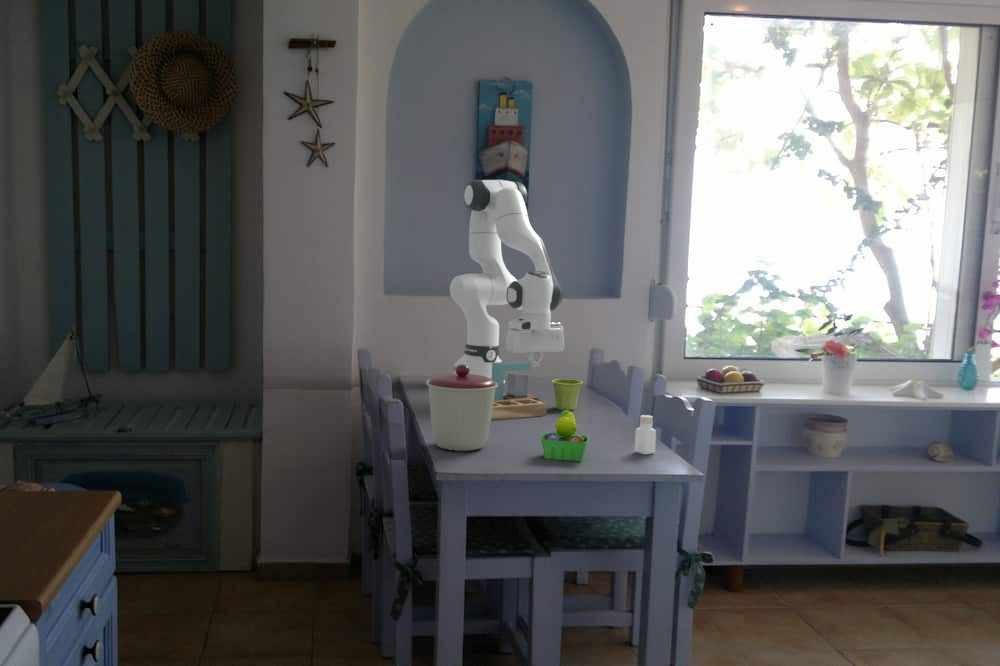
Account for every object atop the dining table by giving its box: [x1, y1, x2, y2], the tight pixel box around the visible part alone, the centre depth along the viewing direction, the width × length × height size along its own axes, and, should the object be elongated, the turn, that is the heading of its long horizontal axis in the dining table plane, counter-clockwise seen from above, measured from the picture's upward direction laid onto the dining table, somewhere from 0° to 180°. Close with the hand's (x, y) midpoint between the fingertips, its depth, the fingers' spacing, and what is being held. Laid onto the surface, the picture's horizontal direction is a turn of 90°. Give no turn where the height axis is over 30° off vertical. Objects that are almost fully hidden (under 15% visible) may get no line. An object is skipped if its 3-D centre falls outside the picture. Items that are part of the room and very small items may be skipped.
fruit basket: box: [540, 409, 590, 462], centre depth 241 cm, size 11×9×11 cm
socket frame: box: [503, 392, 540, 402], centre depth 304 cm, size 27×10×3 cm, turn 121°
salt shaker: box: [634, 414, 657, 455], centre depth 249 cm, size 4×4×10 cm
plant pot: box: [551, 378, 583, 411], centre depth 305 cm, size 9×9×9 cm
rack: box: [491, 398, 548, 421], centre depth 292 cm, size 10×22×4 cm, turn 121°
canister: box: [425, 365, 498, 452], centre depth 247 cm, size 18×18×21 cm
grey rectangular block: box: [506, 372, 529, 398], centre depth 308 cm, size 5×5×10 cm
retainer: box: [491, 360, 531, 401], centre depth 305 cm, size 13×7×12 cm, turn 121°
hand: (534, 366), depth 310 cm, fingers closed
